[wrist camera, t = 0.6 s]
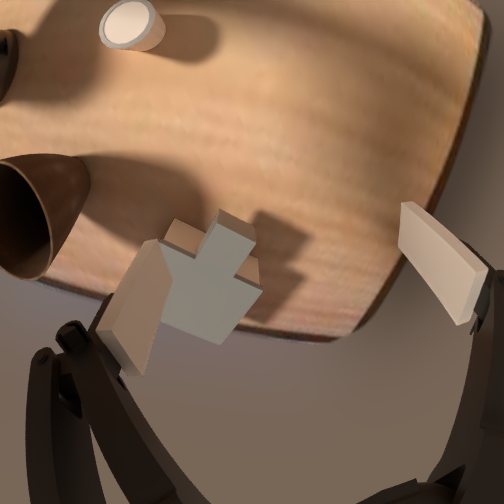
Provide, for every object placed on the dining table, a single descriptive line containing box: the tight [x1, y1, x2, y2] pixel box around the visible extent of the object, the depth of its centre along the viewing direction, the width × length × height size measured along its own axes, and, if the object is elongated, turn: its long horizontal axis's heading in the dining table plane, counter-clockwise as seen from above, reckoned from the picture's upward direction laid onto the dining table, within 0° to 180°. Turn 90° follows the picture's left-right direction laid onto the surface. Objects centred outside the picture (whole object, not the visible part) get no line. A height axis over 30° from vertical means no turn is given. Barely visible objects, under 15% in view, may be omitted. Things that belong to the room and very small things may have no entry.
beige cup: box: [99, 0, 166, 52], centre depth 23 cm, size 7×7×7 cm
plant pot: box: [0, 154, 90, 281], centre depth 29 cm, size 15×15×16 cm
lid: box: [159, 209, 263, 345], centre depth 37 cm, size 15×19×4 cm
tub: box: [164, 218, 260, 285], centre depth 41 cm, size 14×12×7 cm
